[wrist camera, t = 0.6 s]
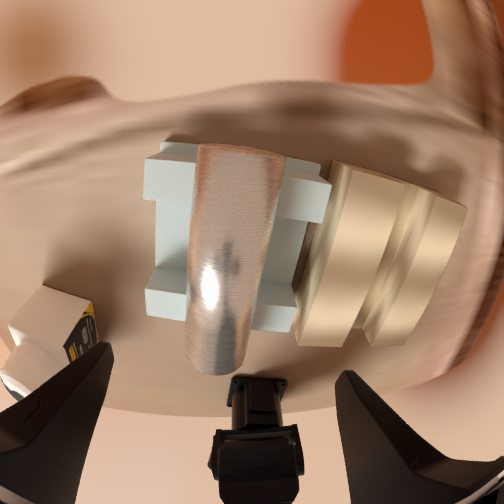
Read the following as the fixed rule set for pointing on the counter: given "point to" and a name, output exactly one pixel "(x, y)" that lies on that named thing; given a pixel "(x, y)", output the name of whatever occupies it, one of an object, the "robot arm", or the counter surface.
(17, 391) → the medicine bottle
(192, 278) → the steel axle
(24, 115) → the counter surface
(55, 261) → the counter surface
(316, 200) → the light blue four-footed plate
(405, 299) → the beech v-block
